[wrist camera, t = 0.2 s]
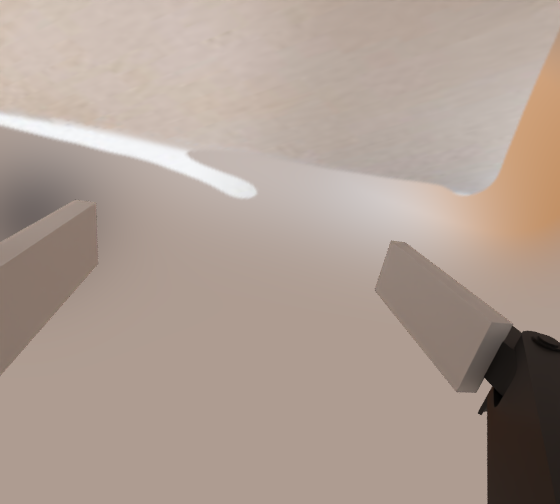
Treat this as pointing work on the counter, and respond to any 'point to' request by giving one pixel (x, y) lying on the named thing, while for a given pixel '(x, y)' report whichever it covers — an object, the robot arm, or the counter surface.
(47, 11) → the counter surface
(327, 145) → the counter surface
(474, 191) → the counter surface
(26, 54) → the counter surface
